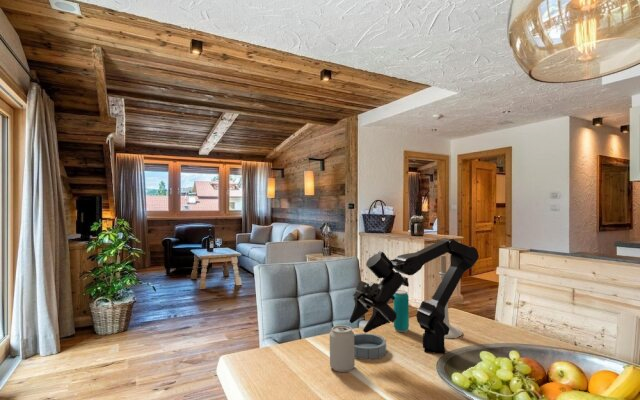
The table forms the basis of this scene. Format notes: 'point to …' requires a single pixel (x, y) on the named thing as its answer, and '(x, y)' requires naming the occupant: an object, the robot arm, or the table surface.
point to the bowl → (369, 346)
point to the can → (342, 348)
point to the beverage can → (401, 311)
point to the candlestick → (453, 330)
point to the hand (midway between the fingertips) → (357, 326)
